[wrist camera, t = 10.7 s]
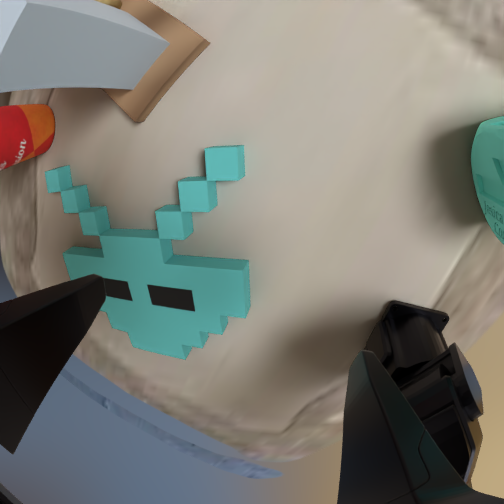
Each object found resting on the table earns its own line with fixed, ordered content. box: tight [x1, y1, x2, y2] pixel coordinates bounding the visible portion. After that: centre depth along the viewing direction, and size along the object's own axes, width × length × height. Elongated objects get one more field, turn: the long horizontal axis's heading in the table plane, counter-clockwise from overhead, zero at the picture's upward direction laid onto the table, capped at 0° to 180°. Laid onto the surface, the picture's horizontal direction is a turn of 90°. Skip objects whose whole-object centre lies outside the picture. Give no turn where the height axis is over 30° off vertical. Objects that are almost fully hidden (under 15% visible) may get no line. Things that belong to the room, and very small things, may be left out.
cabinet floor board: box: [95, 0, 210, 122], centre depth 15 cm, size 10×8×4 cm
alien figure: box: [45, 145, 250, 360], centre depth 24 cm, size 20×2×20 cm
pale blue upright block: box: [0, 0, 170, 92], centre depth 10 cm, size 6×4×12 cm
